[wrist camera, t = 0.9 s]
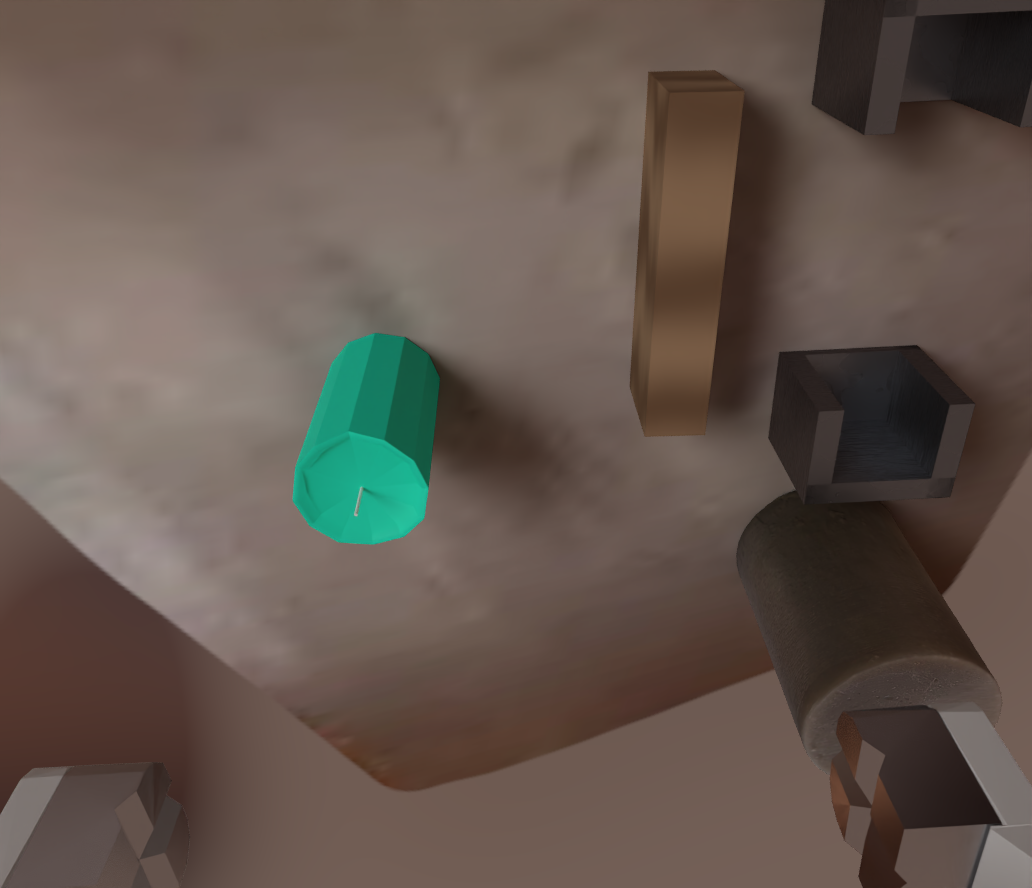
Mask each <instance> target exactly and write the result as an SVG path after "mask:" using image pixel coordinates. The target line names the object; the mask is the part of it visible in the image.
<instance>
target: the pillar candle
mask: <svg viewBox="0 0 1032 888" xmlns="http://www.w3.org/2000/svg"><path fill="white" fill-rule="evenodd" d="M737 567H738V571H739V574H740V577H741V579H742V582H743V585H744V588H745V590H746V593H747V596H748V599H749V601H750V604H751V606H752V609H753V612H754V614H755V617H756V620H757V623H758V625H759V628H760V630H761V633H762V636H763V638H764V641H765V644H766V647H767V649H768V652H769V655H770V657H771V660H772V663H773V666H774V668H775V671H776V674H777V676H778V679H779V681H780V684H781V687H782V689H783V692H784V695H785V697H786V700H787V703H788V706H789V708H790V711H791V714H792V716H793V719H794V722H795V724H796V727H797V729H798V732H799V735H800V737H801V740H802V743H803V745H804V748H805V750H806V753H807V755H808V756H809V757H810V759H811V760H812V761H813V763H814V764H815V765H816V766H817V767H818V768H819V769H820V770H822V771H824V772H825V773H826V774H828V775H830V771H831V762H832V759H833V758H834V757H835V756H836V755H837V754H838V753H839V752H840V751H841V750H842V747H841V745H840V743H839V740H838V738H837V735H836V729H837V723H838V718H839V717H840V715H841V714H842V712H843V711H854V710H866V709H877V708H889V707H901V706H913V705H926V706H928V705H934V704H947V703H961V702H974V703H975V704H976V705H978V706H979V707H980V708H982V710H983V711H984V713H985V715H986V716H987V718H988V719H989V721H990V722H991V724H992V725H993V727H995V724H996V723H997V722H998V719H999V716H1000V712H1001V707H1002V697H1001V692H1000V689H999V686H998V684H997V682H996V680H995V679H994V677H993V676H992V674H991V673H990V671H989V670H988V668H987V666H986V665H985V663H984V662H983V660H982V659H981V657H980V655H979V654H978V652H977V651H976V649H975V648H974V646H973V644H972V642H971V641H970V639H969V638H968V636H967V634H966V633H965V631H964V630H963V629H962V627H961V625H960V624H959V622H958V620H957V619H956V617H955V616H954V614H953V613H952V611H951V609H950V608H949V607H948V605H947V603H946V601H945V600H944V598H943V597H942V595H941V594H940V593H939V591H938V590H937V588H936V586H935V584H934V583H933V581H932V580H931V578H930V577H929V575H928V574H927V572H926V570H925V569H924V567H923V565H922V564H921V562H920V561H919V559H918V557H917V556H916V554H915V553H914V551H913V550H912V548H911V547H910V545H909V543H908V542H907V540H906V539H905V537H904V535H903V533H902V532H901V530H900V529H899V527H898V525H897V523H896V521H895V520H894V518H893V516H892V515H891V514H890V512H889V511H888V510H887V509H886V507H885V506H883V505H882V504H881V503H880V502H879V501H865V502H846V503H826V504H807V505H804V504H803V502H802V500H801V498H800V496H799V494H798V492H797V491H793V492H790V493H787V494H785V495H782V496H781V497H778V498H777V499H775V500H774V501H773V502H771V503H770V504H768V505H767V506H766V507H765V508H764V509H763V510H761V511H760V512H759V513H758V514H756V516H755V517H754V518H753V519H752V520H751V522H750V523H749V524H748V526H747V527H746V529H745V530H744V532H743V534H742V536H741V538H740V541H739V544H738V548H737Z"/></svg>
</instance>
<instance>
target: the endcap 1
mask: <svg viewBox="0 0 1032 888" xmlns="http://www.w3.org/2000/svg"><path fill="white" fill-rule="evenodd" d="M933 100H953V101H956V102H958V103H961V104H963V105H966V106H968V107H971V108H973V109H976V110H978V111H981V112H983V113H986V114H988V115H991V116H993V117H996V118H998V119H1001V120H1003V121H1006V122H1008V123H1011V124H1013V125H1016V126H1018V127H1032V0H825V6H824V13H823V21H822V29H821V37H820V44H819V52H818V60H817V67H816V75H815V83H814V91H813V98H812V105H814V106H815V107H817V108H819V109H821V110H822V111H824V112H826V113H827V114H829V115H831V116H832V117H834V118H836V119H838V120H839V121H841V122H843V123H844V124H846V125H848V126H849V127H851V128H853V129H855V130H856V131H858V132H860V133H861V134H863V135H877V134H894V133H895V127H896V122H897V116H898V111H899V105H900V102H913V101H933Z"/></svg>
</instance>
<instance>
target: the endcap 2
mask: <svg viewBox="0 0 1032 888" xmlns="http://www.w3.org/2000/svg"><path fill="white" fill-rule="evenodd" d="M974 407H975V403H974V402H973V401H972V400H971V399H970V398H969V397H968V396H967V395H966V394H965V393H964V392H963V391H962V390H961V389H960V388H959V387H958V386H957V385H956V384H955V383H954V382H953V381H952V380H951V379H950V378H949V377H948V376H947V375H946V374H945V373H944V372H943V371H942V370H941V369H940V368H939V367H938V366H937V365H936V364H935V363H934V362H933V361H932V360H931V359H930V358H929V357H928V356H927V355H926V354H925V353H924V352H923V351H922V350H921V349H920V348H919V347H918V346H917V345H912V346H893V347H873V348H853V349H834V350H814V351H794V352H780V353H779V360H778V368H777V376H776V383H775V391H774V399H773V407H772V414H771V422H770V430H769V437H768V438H769V440H770V442H771V444H772V446H773V448H774V450H775V451H776V453H777V455H778V457H779V459H780V461H781V463H782V464H783V466H784V468H785V470H786V472H787V474H788V476H789V477H790V479H791V481H792V483H793V485H794V487H795V489H796V490H797V492H798V494H799V496H800V498H801V500H802V502H803V504H804V505H807V504H826V503H846V502H865V501H885V500H904V499H924V498H943V497H950V495H951V492H952V488H953V484H954V481H955V477H956V473H957V470H958V466H959V462H960V458H961V455H962V451H963V447H964V444H965V440H966V436H967V432H968V429H969V425H970V421H971V418H972V414H973V410H974Z"/></svg>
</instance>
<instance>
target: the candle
mask: <svg viewBox="0 0 1032 888" xmlns="http://www.w3.org/2000/svg"><path fill="white" fill-rule="evenodd" d="M439 384H440V377H439V375H438V373H437V371H436V369H435V367H434V365H433V362H432V360H431V358H430V356H429V354H428V353H426V352H425V351H423V350H422V349H421V348H419V347H418V346H416V345H415V344H414V343H412V342H411V341H409V340H408V339H407V338H405V337H399V336H393V335H386V334H379V333H374V334H371V335H368V336H365V337H363V338H360V339H357V340H354V341H352V342H349V343H348V344H347V345H346V346H345V347H344V349H343V350H342V351H341V352H340V354H339V355H338V356H337V357H336V359H335V360H334V361H333V363H332V364H331V367H330V370H329V373H328V376H327V378H326V381H325V384H324V387H323V390H322V393H321V396H320V398H319V401H318V404H317V407H316V410H315V413H314V416H313V418H312V421H311V424H310V427H309V430H308V433H307V436H306V438H305V441H304V444H303V447H302V450H301V453H300V455H299V458H298V461H297V464H296V467H295V477H294V490H293V502H294V504H295V505H296V507H297V508H298V509H299V511H300V512H301V514H302V515H303V517H304V518H305V520H306V521H307V523H308V524H309V526H311V527H313V528H314V529H316V530H318V531H320V532H321V533H323V534H325V535H327V536H328V537H330V538H332V539H334V540H335V541H337V542H341V543H357V544H377V543H381V542H385V541H389V540H393V539H397V538H401V537H404V536H406V535H407V534H408V533H409V532H410V531H411V530H412V529H413V528H414V527H415V526H417V525H418V524H419V523H420V522H421V521H422V520H423V519H424V517H425V509H426V502H427V495H428V488H429V479H430V469H431V460H432V450H433V441H434V431H435V422H436V412H437V403H438V393H439Z"/></svg>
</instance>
